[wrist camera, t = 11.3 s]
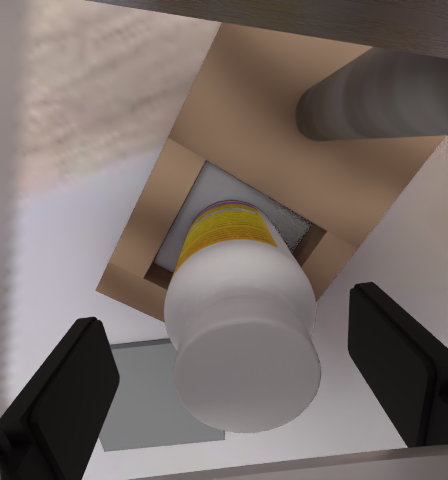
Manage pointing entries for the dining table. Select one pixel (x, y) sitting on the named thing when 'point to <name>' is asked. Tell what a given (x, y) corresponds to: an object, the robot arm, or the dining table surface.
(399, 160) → the collar stand
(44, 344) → the dining table surface
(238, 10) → the retention bar
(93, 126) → the dining table surface
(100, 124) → the dining table surface
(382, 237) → the dining table surface
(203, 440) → the coaster pad
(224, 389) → the supplement bottle
